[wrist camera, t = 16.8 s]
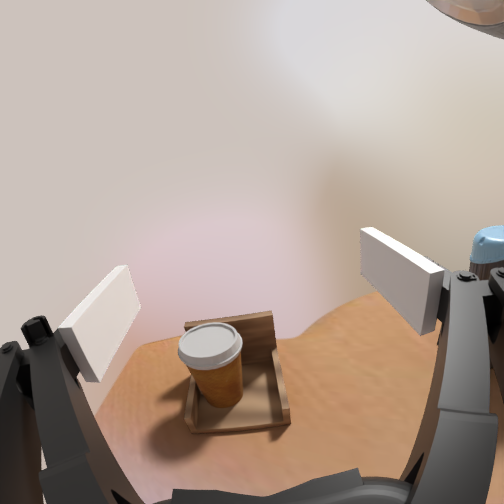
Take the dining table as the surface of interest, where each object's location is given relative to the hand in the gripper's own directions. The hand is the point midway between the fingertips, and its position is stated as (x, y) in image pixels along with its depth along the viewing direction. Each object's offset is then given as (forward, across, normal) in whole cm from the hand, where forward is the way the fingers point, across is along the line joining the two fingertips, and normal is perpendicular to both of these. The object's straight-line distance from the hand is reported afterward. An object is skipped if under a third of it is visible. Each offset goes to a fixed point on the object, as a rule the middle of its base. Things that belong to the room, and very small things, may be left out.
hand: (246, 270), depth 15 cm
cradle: (+20, -5, -30) cm, 36 cm away
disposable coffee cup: (+19, -8, -29) cm, 36 cm away
